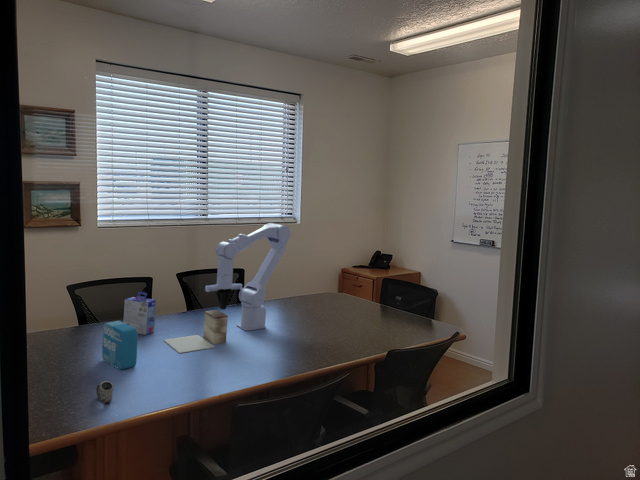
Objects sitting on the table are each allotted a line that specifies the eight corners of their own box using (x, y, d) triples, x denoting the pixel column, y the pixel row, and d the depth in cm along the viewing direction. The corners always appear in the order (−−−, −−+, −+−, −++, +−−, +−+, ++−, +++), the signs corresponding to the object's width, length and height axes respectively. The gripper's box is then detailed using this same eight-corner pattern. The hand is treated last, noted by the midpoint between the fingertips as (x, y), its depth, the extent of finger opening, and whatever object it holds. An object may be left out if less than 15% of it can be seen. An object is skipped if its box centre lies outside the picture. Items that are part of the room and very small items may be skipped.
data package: (101, 359, 144) (102, 322, 143) (115, 356, 148) (116, 319, 147) (122, 371, 137) (124, 332, 136) (136, 367, 141) (138, 329, 139)
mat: (197, 335, 174) (197, 334, 174) (215, 347, 163) (215, 346, 163) (163, 340, 165) (163, 339, 165) (179, 353, 155) (179, 352, 155)
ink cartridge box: (155, 331, 174) (157, 293, 173) (146, 335, 169) (148, 296, 167) (131, 327, 176) (132, 289, 175) (122, 331, 171) (123, 292, 169)
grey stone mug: (102, 406, 116) (103, 387, 116) (92, 397, 120) (92, 379, 120) (116, 402, 119) (117, 383, 118) (105, 393, 123) (106, 375, 122)
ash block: (215, 336, 175) (217, 310, 174) (226, 342, 169) (227, 315, 168) (203, 337, 172) (205, 311, 171) (213, 344, 166) (215, 317, 165)
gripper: (237, 270, 184) (234, 304, 186) (202, 272, 175) (200, 307, 177) (245, 274, 179) (243, 308, 181) (210, 276, 170) (208, 312, 172)
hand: (222, 308), depth 178 cm, fingers closed
